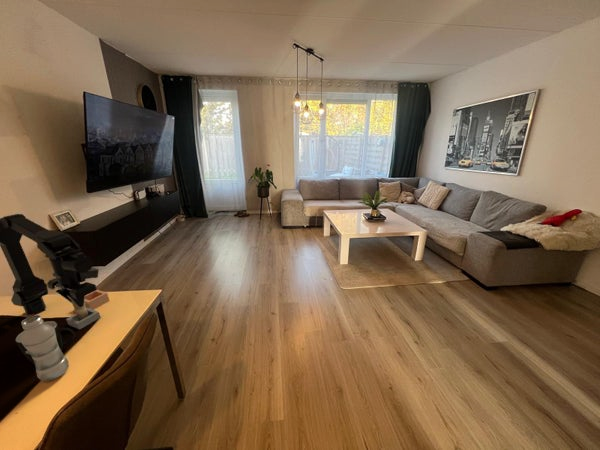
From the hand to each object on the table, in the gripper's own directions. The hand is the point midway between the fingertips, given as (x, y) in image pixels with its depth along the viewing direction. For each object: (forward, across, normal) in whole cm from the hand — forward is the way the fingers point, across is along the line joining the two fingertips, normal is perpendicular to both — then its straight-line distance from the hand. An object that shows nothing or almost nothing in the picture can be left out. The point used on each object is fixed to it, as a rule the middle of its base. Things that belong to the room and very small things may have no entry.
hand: (79, 305), depth 89 cm
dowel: (+6, 0, 0) cm, 6 cm away
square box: (+8, +8, -8) cm, 14 cm away
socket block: (+8, 0, 0) cm, 8 cm away
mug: (+8, -8, +12) cm, 17 cm away
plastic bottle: (+8, -18, +16) cm, 25 cm away
